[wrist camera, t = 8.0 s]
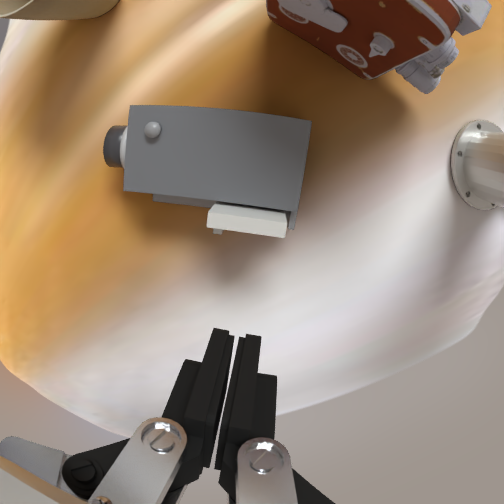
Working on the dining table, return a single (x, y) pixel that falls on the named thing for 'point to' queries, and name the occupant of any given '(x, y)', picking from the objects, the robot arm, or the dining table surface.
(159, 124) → the housing
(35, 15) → the plant pot
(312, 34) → the dark red boxy piece
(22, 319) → the dining table surface
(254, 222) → the off-white foam block
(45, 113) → the dining table surface
